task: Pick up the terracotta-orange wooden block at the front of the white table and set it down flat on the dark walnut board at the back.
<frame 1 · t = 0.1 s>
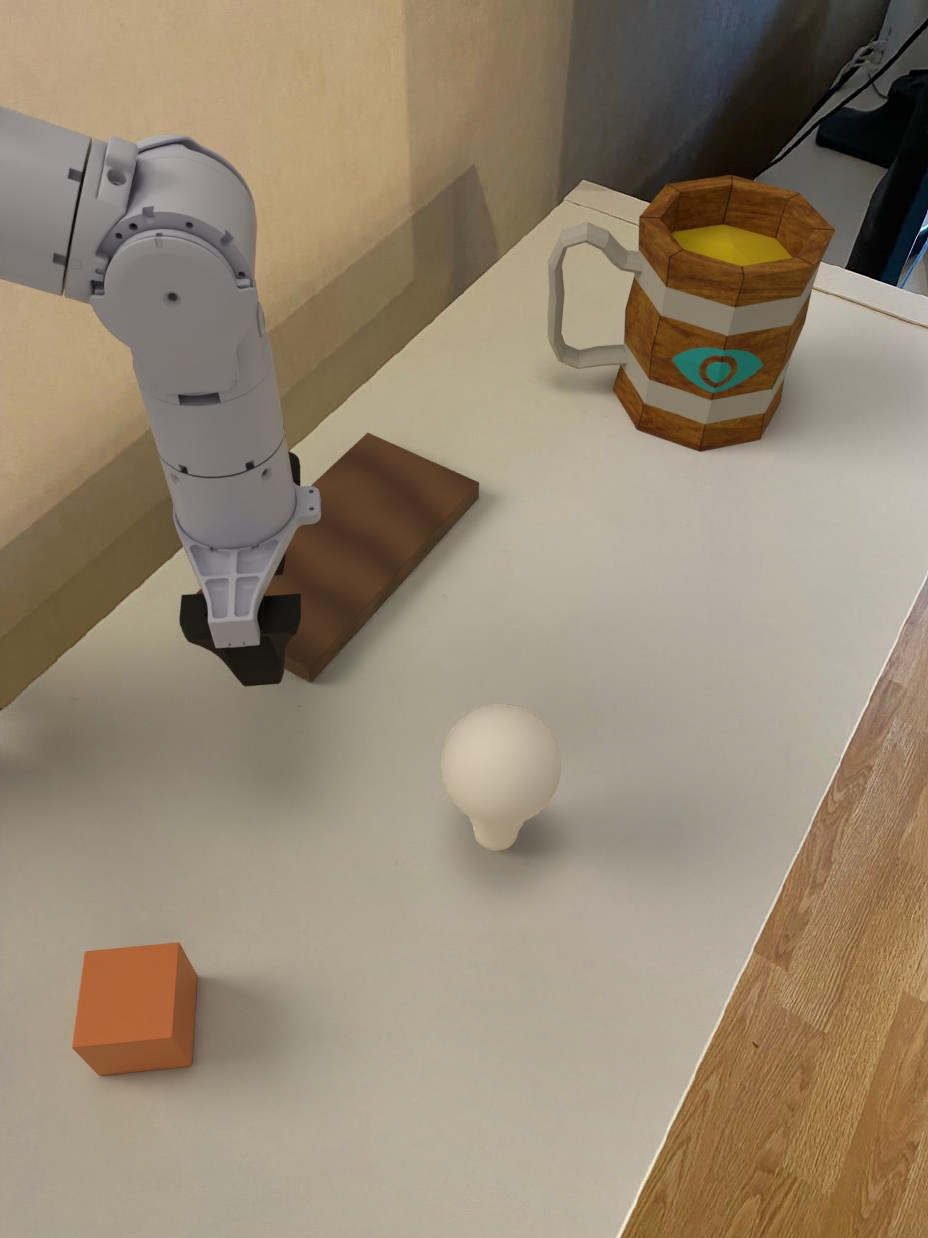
hand: (263, 623, 56), 8 cm above the table, tool pointing down, fingers open, 7 cm apart
board: (342, 553, 71), on the table
lightbulb: (495, 838, 58), on the table
block: (149, 1024, 51), on the table
mug: (657, 394, 83), on the table
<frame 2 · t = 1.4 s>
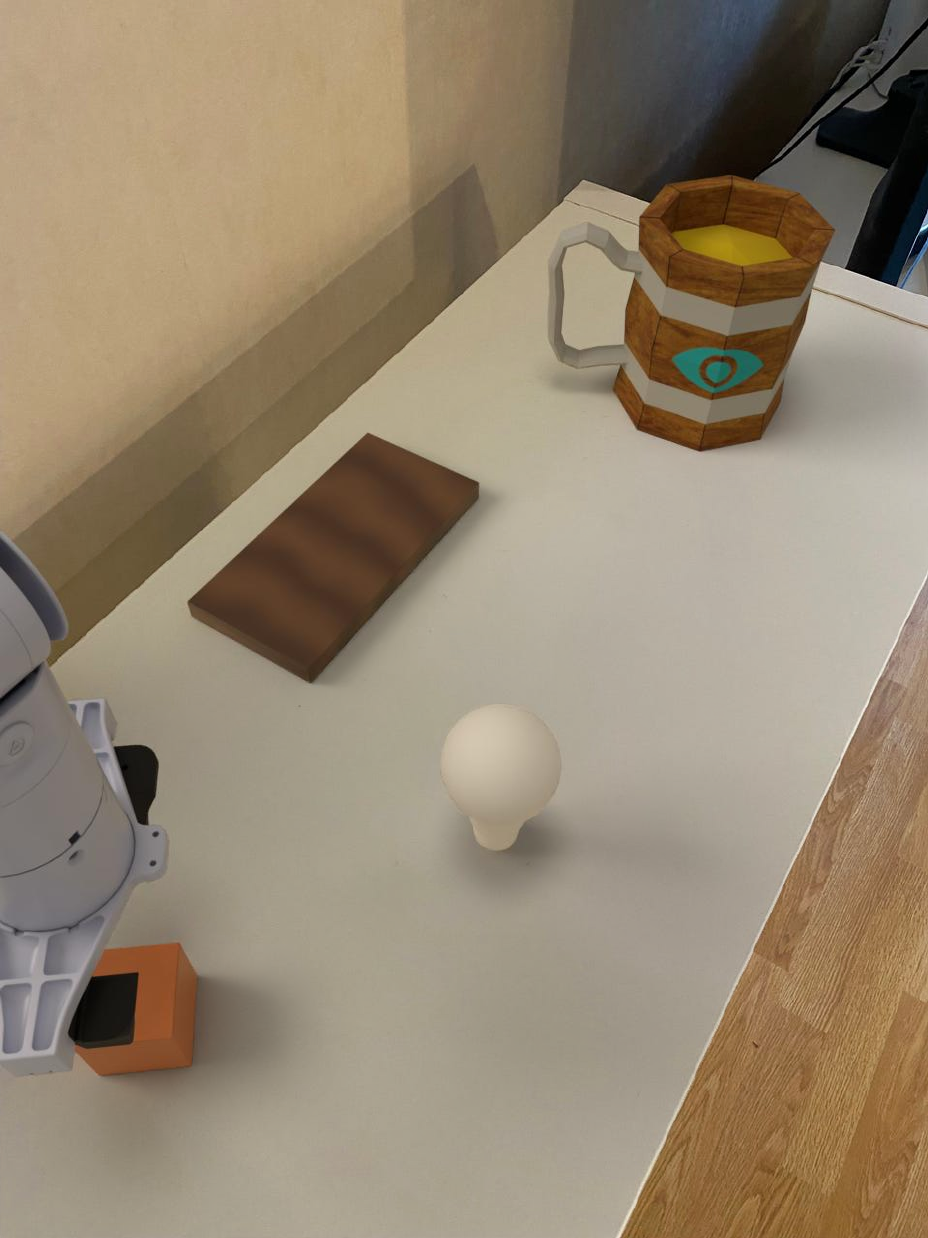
hand: (119, 949, 45), 8 cm above the table, tool pointing down, fingers open, 7 cm apart
nothing on the table moved.
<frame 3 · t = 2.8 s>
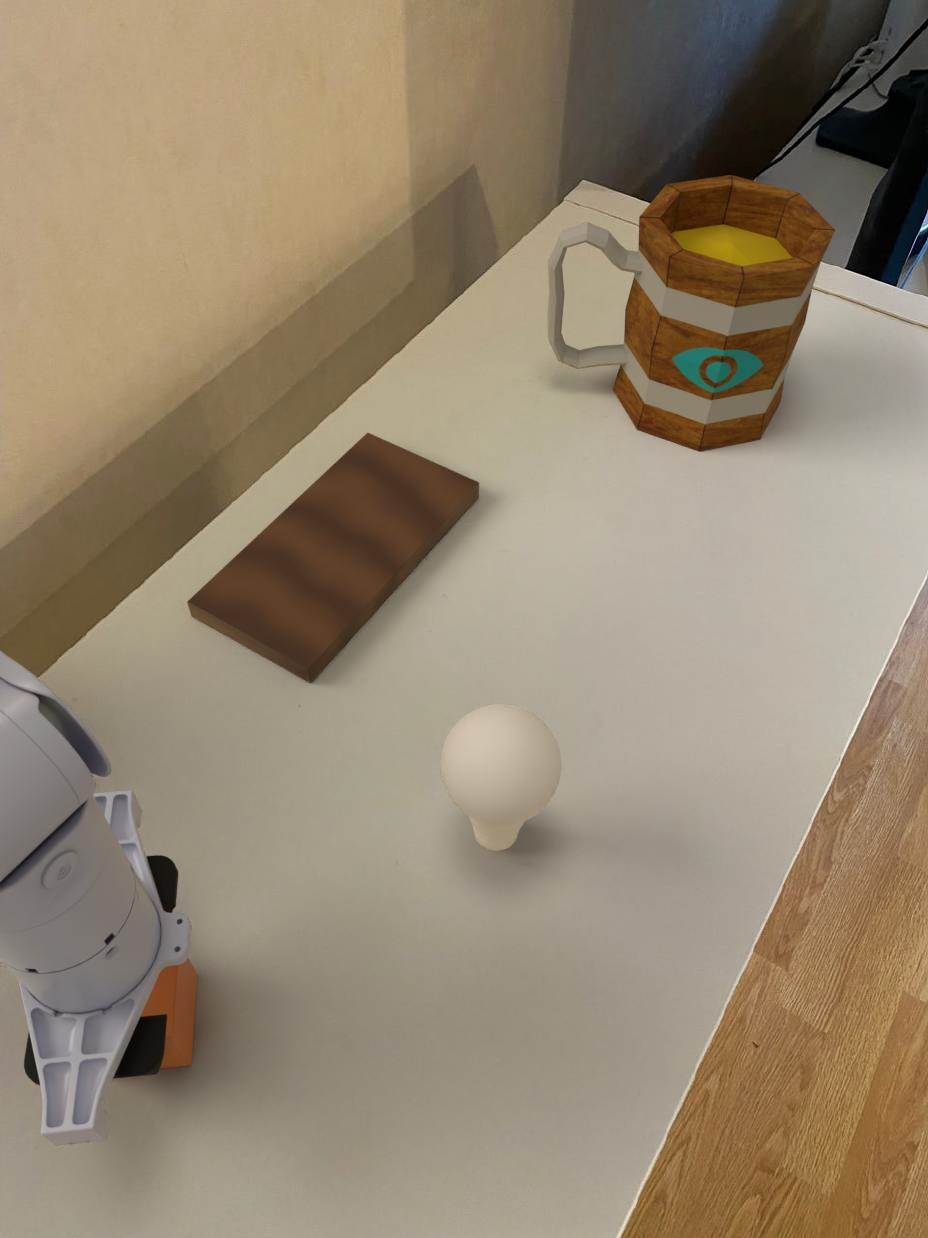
hand: (142, 1015, 50), 1 cm above the table, tool pointing down, fingers closed on block, 4 cm apart
block: (149, 1023, 51), on the table, touching gripper
everything else where it was.
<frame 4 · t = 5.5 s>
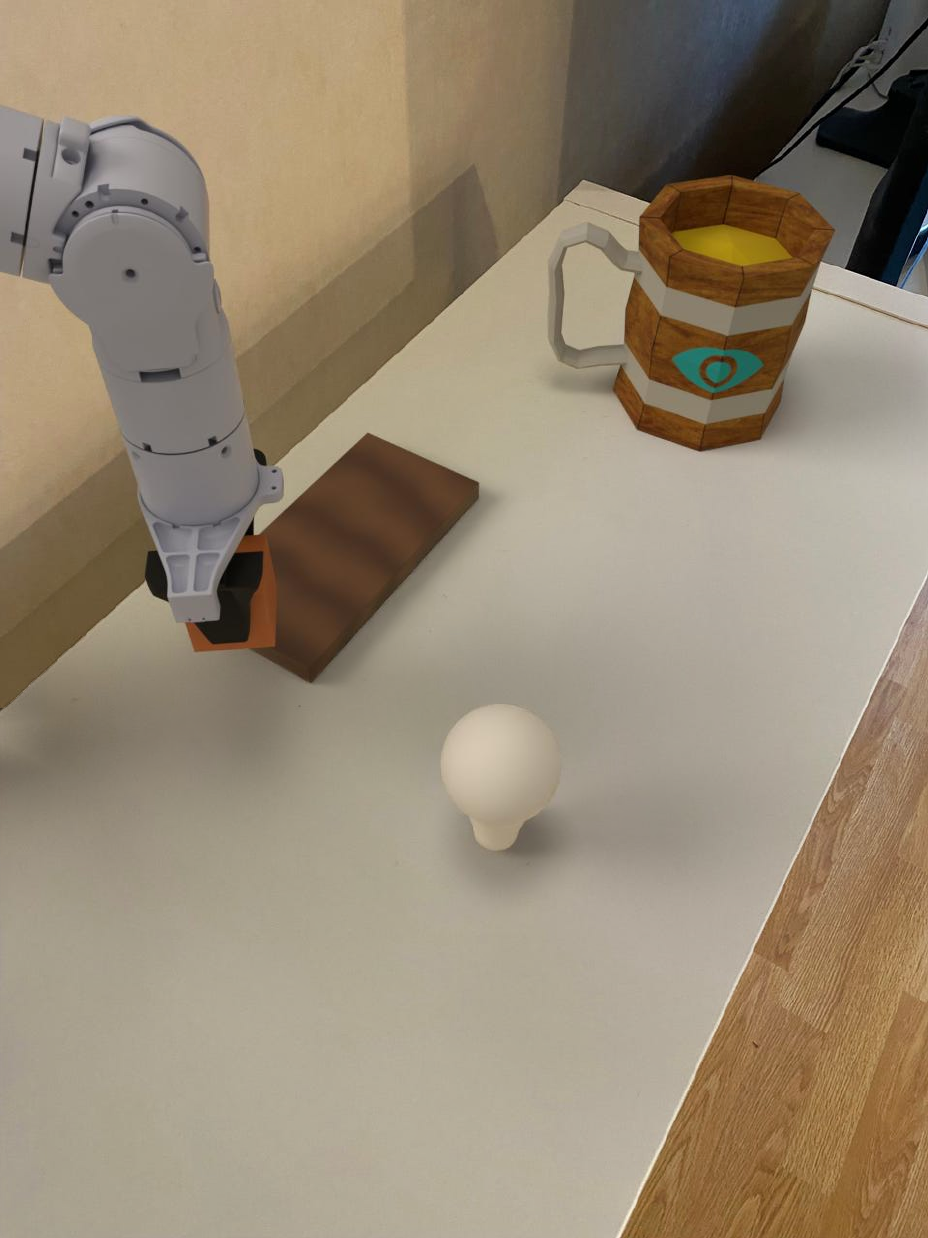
hand: (231, 603, 57), 8 cm above the table, tool pointing down, fingers closed on block, 4 cm apart
block: (236, 618, 58), point 7 cm above the table, touching gripper
everything else where it was.
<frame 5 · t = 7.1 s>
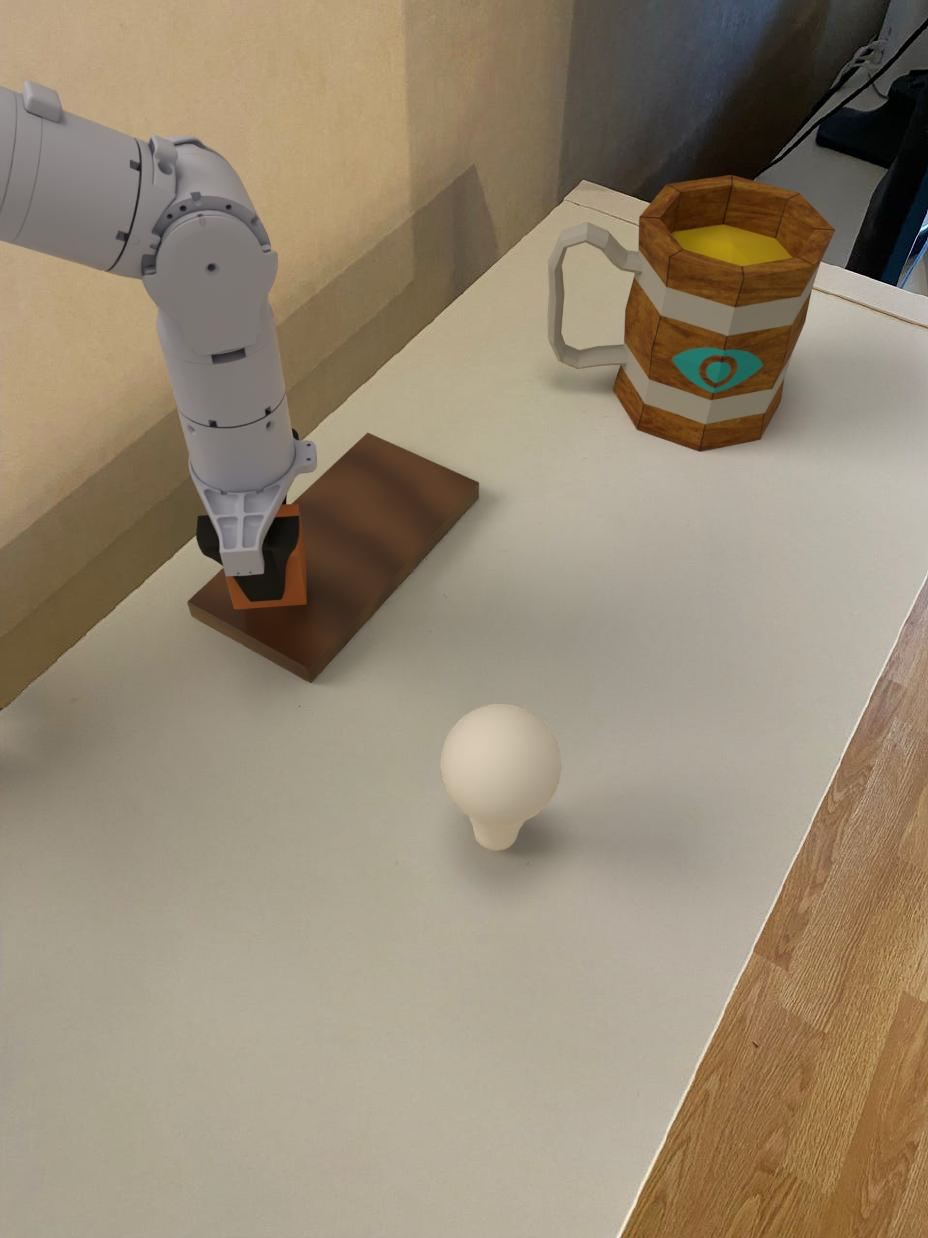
hand: (266, 566, 64), 5 cm above the table, tool pointing down, fingers closed on block, 4 cm apart
block: (271, 580, 65), point 3 cm above the table, touching gripper
everything else where it was.
when the fingers open (3 cm above the table, at t = 8.2 s): block stays where it is, resting on board.
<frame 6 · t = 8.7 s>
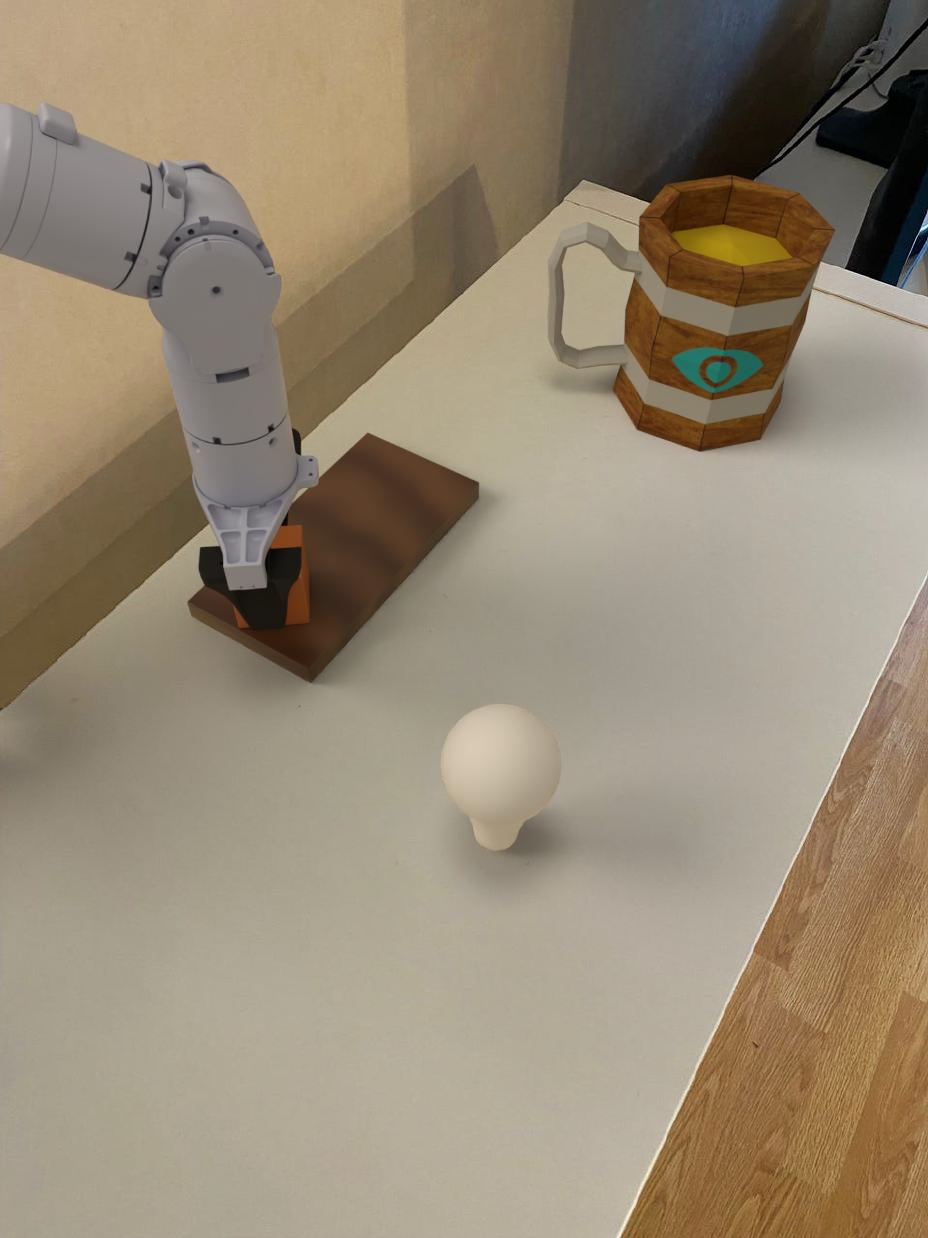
hand: (269, 578, 65), 4 cm above the table, tool pointing down, fingers open, 7 cm apart
block: (275, 599, 66), point 1 cm above the table, touching board
everything else where it was.
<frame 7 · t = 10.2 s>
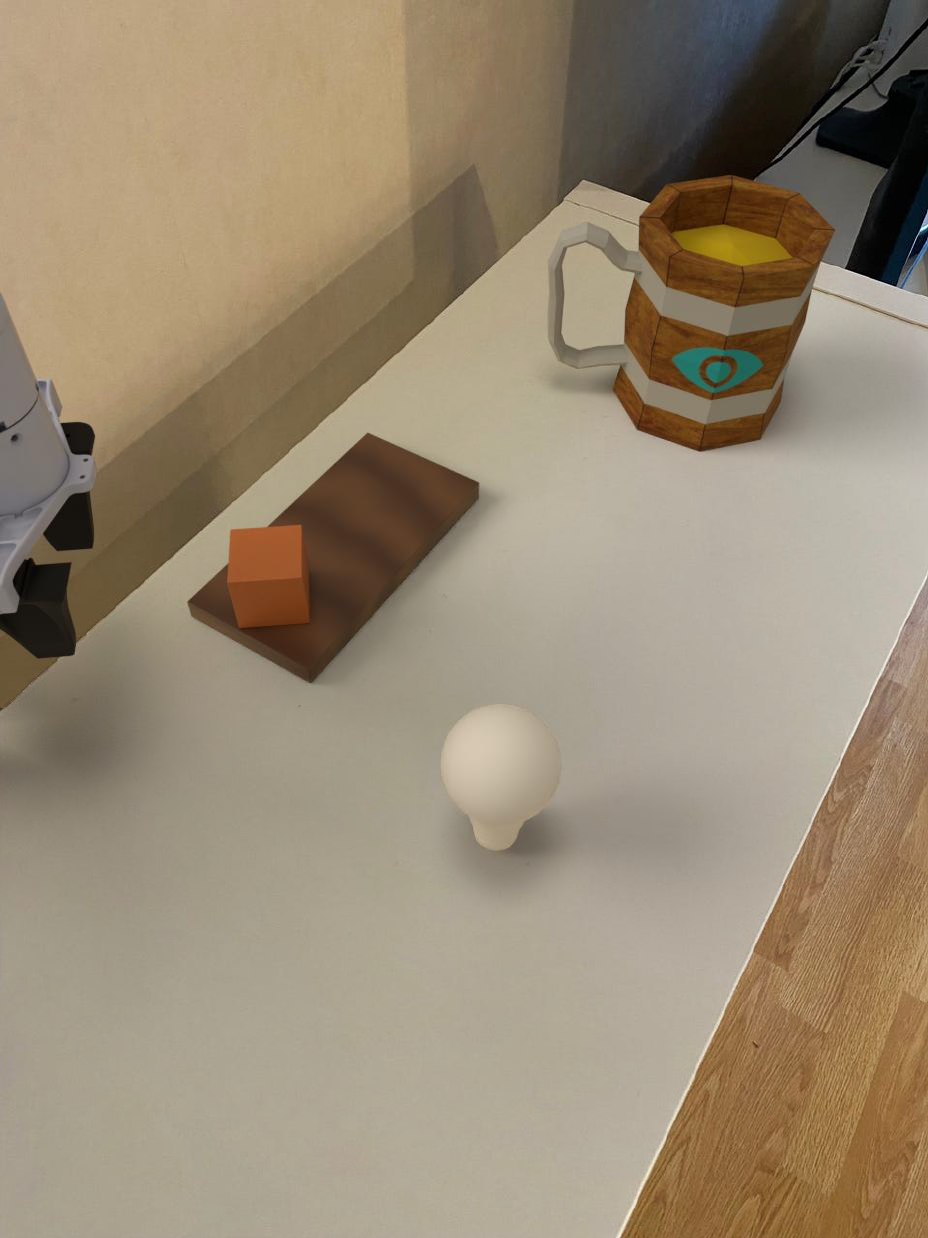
hand: (66, 596, 56), 9 cm above the table, tool pointing down, fingers open, 7 cm apart
nothing on the table moved.
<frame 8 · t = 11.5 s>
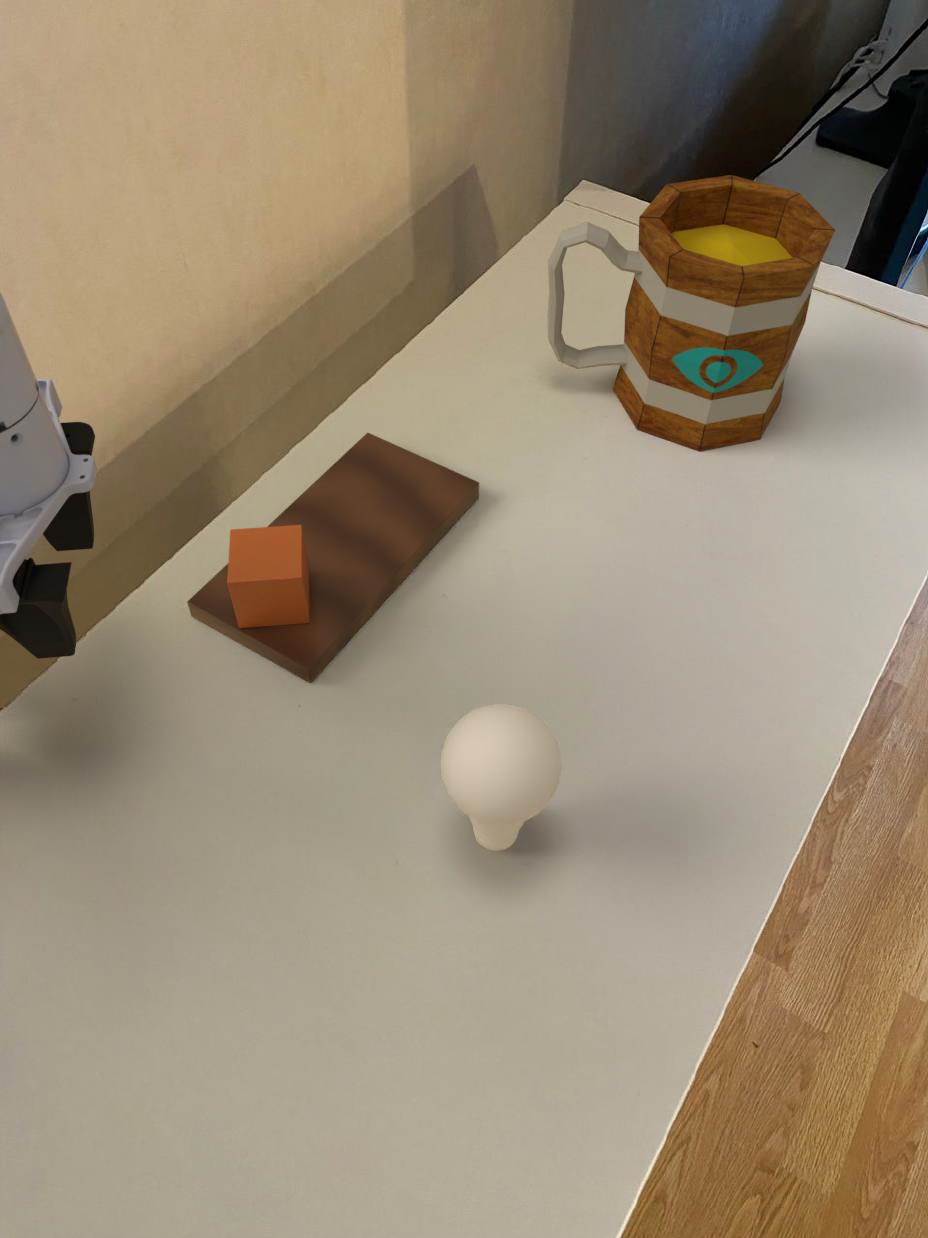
hand: (66, 596, 56), 9 cm above the table, tool pointing down, fingers open, 7 cm apart
nothing on the table moved.
at the end: block inside the target area on the board (5.3 cm from its centre), point 1.5 cm above the board's base; block tilted 0°; the gripper is holding nothing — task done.
